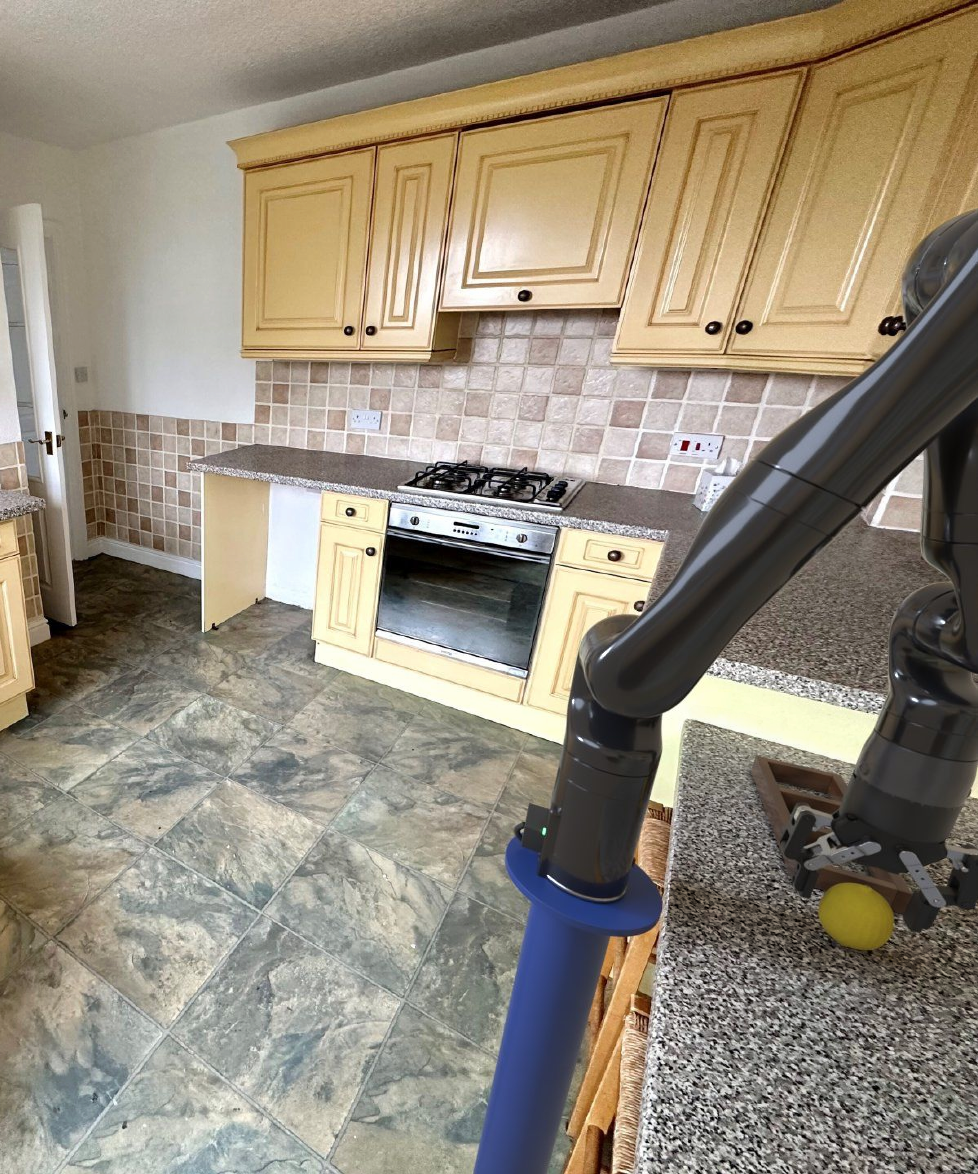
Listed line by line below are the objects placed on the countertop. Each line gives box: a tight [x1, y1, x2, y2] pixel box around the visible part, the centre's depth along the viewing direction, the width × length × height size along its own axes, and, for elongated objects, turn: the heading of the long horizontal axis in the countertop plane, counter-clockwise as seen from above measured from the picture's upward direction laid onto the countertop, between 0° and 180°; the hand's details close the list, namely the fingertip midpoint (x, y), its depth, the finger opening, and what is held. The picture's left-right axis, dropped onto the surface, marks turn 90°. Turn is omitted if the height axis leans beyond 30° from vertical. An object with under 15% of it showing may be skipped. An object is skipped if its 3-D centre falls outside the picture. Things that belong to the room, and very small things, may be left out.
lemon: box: [817, 883, 895, 951], centre depth 68 cm, size 6×6×8 cm
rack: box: [750, 754, 913, 915], centre depth 86 cm, size 10×27×3 cm, turn 148°
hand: (854, 909), depth 68 cm, fingers open, 8 cm apart
